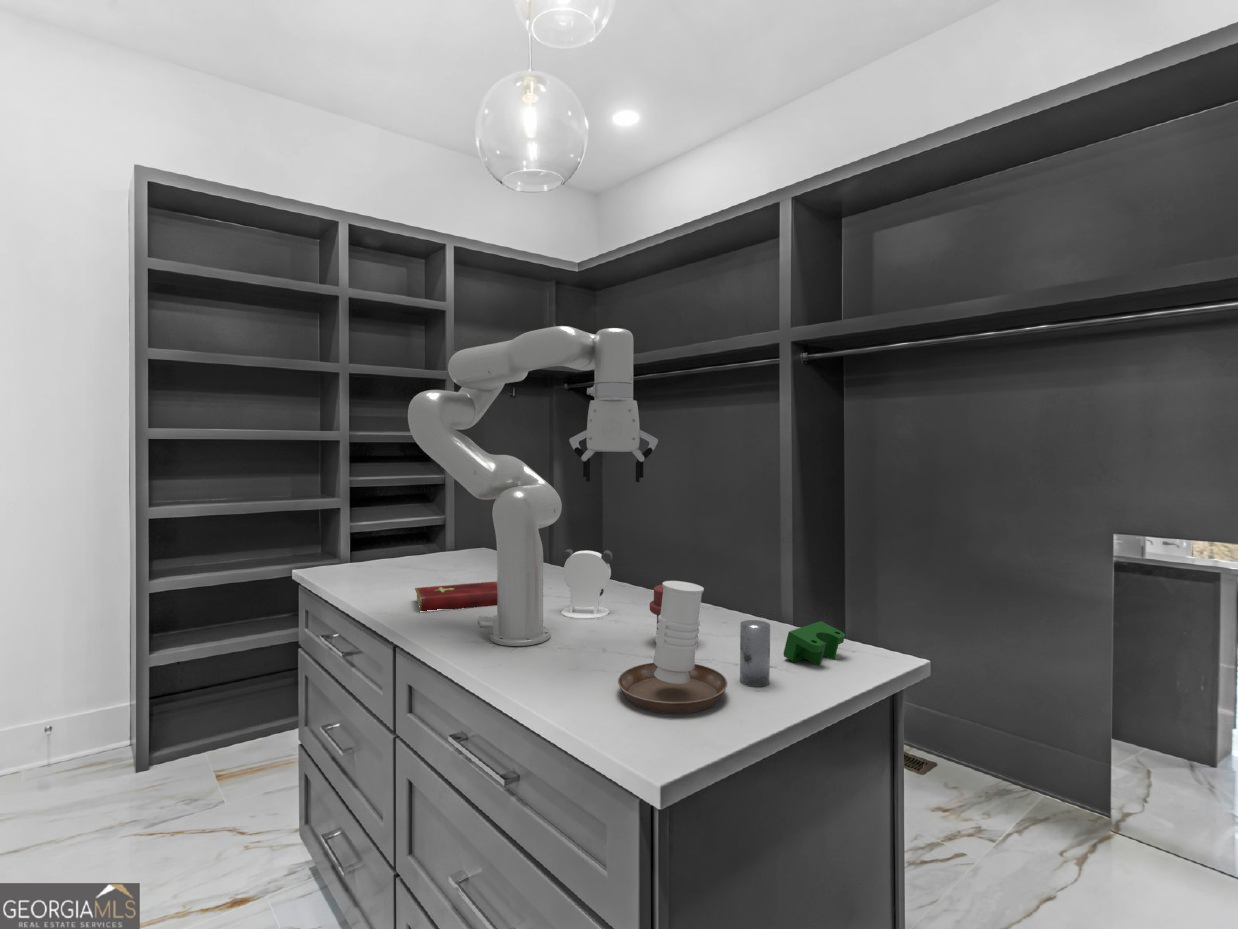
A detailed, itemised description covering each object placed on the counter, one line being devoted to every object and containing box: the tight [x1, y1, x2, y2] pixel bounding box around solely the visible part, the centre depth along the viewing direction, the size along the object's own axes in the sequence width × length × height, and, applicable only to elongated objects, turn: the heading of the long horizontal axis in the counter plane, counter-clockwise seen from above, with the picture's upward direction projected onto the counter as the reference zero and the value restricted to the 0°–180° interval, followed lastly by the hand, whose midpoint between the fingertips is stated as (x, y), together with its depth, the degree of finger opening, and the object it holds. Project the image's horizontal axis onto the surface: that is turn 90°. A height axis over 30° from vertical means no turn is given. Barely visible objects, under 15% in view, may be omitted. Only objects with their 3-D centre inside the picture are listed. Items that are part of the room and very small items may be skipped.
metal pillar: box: [739, 619, 771, 688], centre depth 111 cm, size 5×5×10 cm
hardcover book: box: [414, 580, 497, 612], centre depth 165 cm, size 12×21×4 cm, turn 113°
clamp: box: [783, 620, 846, 666], centre depth 123 cm, size 12×6×9 cm, turn 125°
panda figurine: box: [561, 548, 614, 620], centre depth 155 cm, size 12×11×15 cm
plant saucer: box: [617, 662, 728, 715], centre depth 105 cm, size 18×18×3 cm
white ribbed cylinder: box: [652, 580, 705, 684], centre depth 105 cm, size 7×7×15 cm
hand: (613, 481), depth 127 cm, fingers open, 9 cm apart
